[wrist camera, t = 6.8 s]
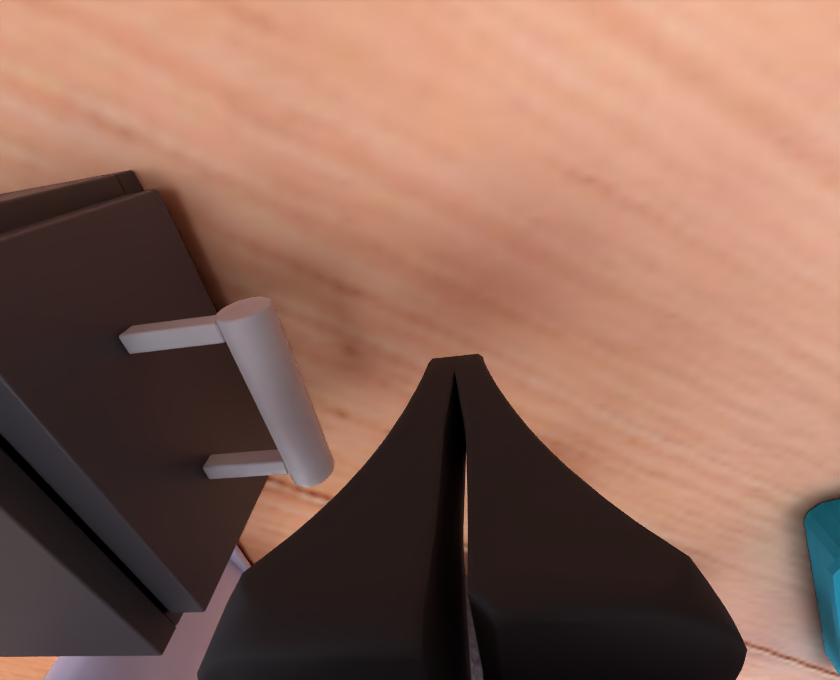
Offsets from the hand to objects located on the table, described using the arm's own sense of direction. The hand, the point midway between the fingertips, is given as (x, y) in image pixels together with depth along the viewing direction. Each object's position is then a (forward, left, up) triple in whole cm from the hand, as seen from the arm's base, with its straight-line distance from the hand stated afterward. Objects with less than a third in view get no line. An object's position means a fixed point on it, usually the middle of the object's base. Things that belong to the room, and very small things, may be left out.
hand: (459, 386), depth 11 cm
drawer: (0, +13, -4) cm, 13 cm away
